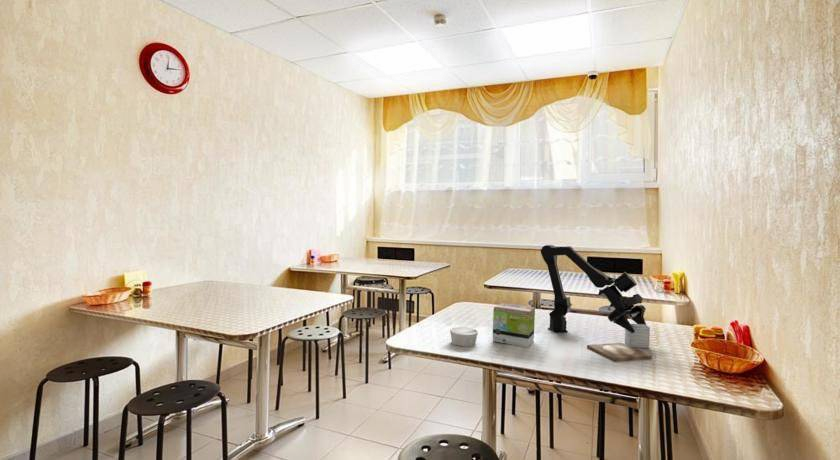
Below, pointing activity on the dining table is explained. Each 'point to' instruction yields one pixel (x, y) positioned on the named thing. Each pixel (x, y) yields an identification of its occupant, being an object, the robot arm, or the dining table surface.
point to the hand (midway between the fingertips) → (640, 330)
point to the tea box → (513, 324)
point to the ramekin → (463, 336)
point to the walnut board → (619, 352)
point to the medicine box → (638, 336)
